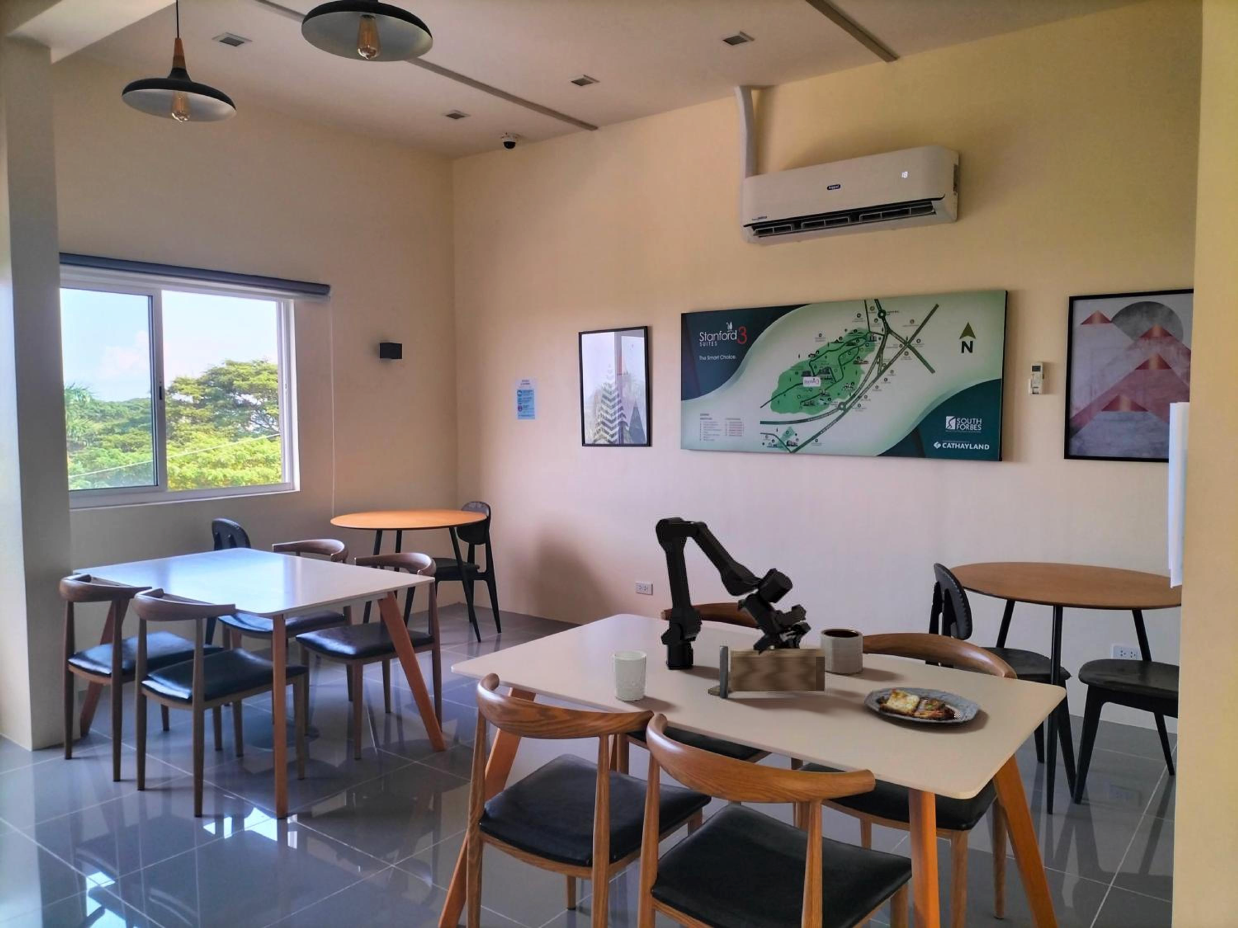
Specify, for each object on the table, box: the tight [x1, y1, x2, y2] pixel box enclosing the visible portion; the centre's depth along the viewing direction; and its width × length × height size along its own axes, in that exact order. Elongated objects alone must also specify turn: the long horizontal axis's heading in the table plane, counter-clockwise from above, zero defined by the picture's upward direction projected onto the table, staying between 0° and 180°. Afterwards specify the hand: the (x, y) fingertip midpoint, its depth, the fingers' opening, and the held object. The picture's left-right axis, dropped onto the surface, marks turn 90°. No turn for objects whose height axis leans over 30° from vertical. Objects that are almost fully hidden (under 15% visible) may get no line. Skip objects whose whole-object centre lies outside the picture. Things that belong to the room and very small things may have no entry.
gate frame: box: [707, 645, 772, 699], centre depth 212 cm, size 26×6×12 cm, turn 139°
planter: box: [819, 628, 864, 675], centre depth 225 cm, size 11×11×10 cm
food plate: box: [863, 686, 981, 725], centre depth 192 cm, size 25×23×4 cm
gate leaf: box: [729, 648, 826, 693], centre depth 202 cm, size 22×2×10 cm, turn 91°
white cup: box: [612, 650, 647, 702], centre depth 203 cm, size 8×8×10 cm
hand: (804, 667), depth 204 cm, fingers closed
